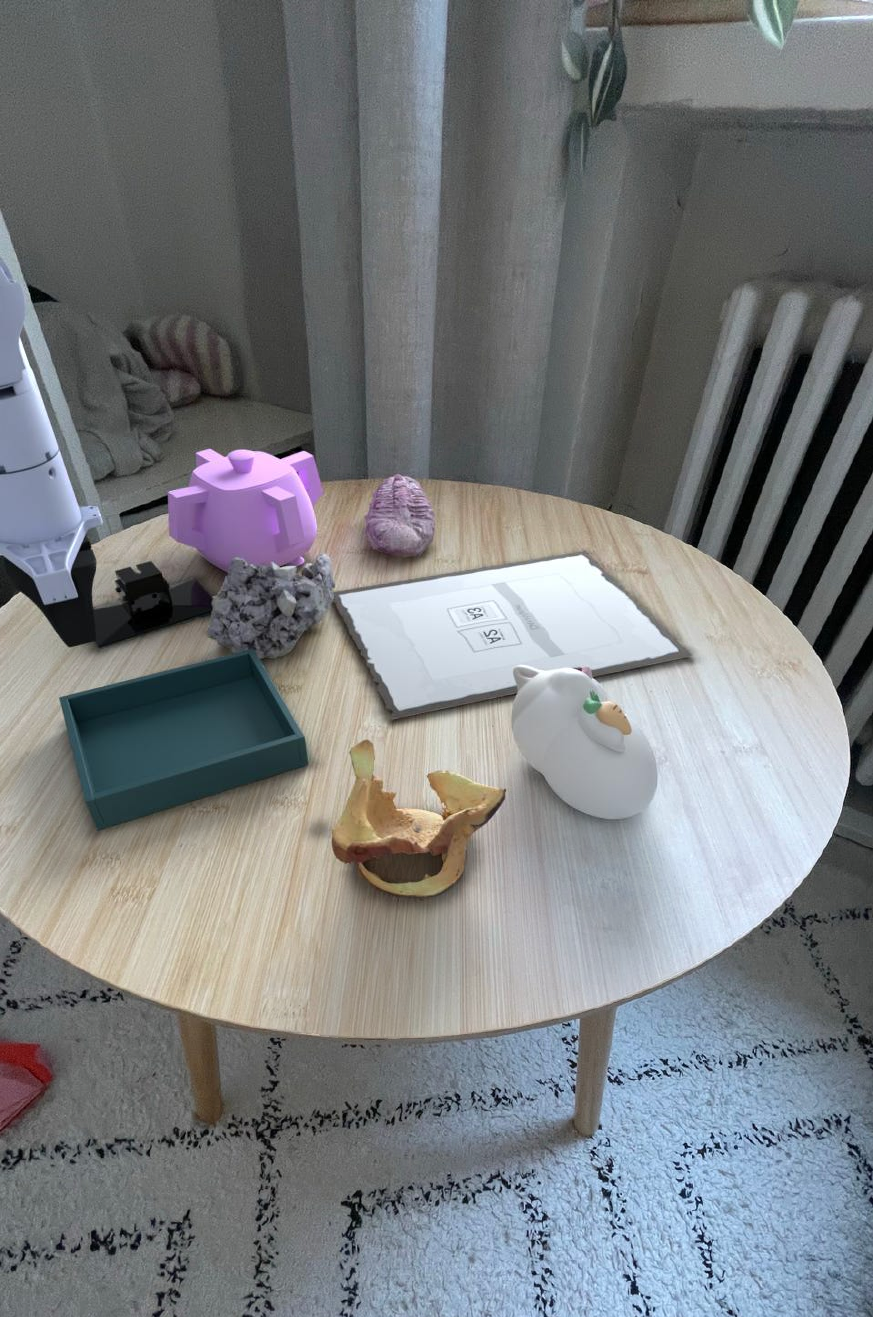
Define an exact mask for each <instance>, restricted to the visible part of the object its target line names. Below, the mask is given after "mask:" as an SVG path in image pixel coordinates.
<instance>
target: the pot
mask: <svg viewBox="0 0 873 1317" xmlns="http://www.w3.org/2000/svg"><path fill="white" fill-rule="evenodd" d="M195 461H196V463H195V464H196V468H195V469H194V470H193V471H192V472H191V475H190V478H189V483H188V487H187V486H186V487H183V488H178V489H173V490H168V491H167V507H168V508H167V510H168V536H169V537H170V538H172V539H173V540H174V541H176V542H177V543H179V544H182V545H185V546H188V547H191V548H194V549H196V551H197V552H198V553H199V554H200V555H201V556H202V557H203V558H204V559H206V561H208V562H209V563H210V564H212V565H214V566H215V567H217V568H218V569H220V570H222V571H224V572H226V573H228V571H229V569H230V567H231V562H232V559H233V558H235V557H238V558H242V559H244V560H245V561H246V562H248V563H249V565H250V564H254V565H258V566H259V565H260V564H262V565H264V566H268V565H269V564H270V562H273V563H275V564H276V565H277V566H279V567H281V566H284V565H285V566H296V567H298V566H301V565H303V564H304V563H305V559H304V557H303V555H305V554H306V553H307V552H309V551H310V550H311V548H312V546H313V545H314V543H315V540H316V537H317V535H318V527H317V526H318V525H317V520H316V514H315V511H314V508H313V507H314V505H316V503H317V502H318V501H319V499H320V498H321V497H322V496H323V494H324V488H323V486H322V482H321V479H320V475H319V471H318V467H317V463H316V460H315V456H314V455H313V454H311V453H309V452H307V451H305V450H302V451H299V452H297V453H294V454H291V455H289V456H285V457H283V458H281V459H280V458H278V457H276V456H274V455H272V454H270V453H267V452H264V451H260V450H255V451H252V450H249V449H235V450H233V451H231V452H229V453H228V454H227V456H223V455H222V454H220V453H218V452H217V451H215V450H213V449H212V448H207V449H204V450H200V451H197V452H195Z"/></svg>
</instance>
